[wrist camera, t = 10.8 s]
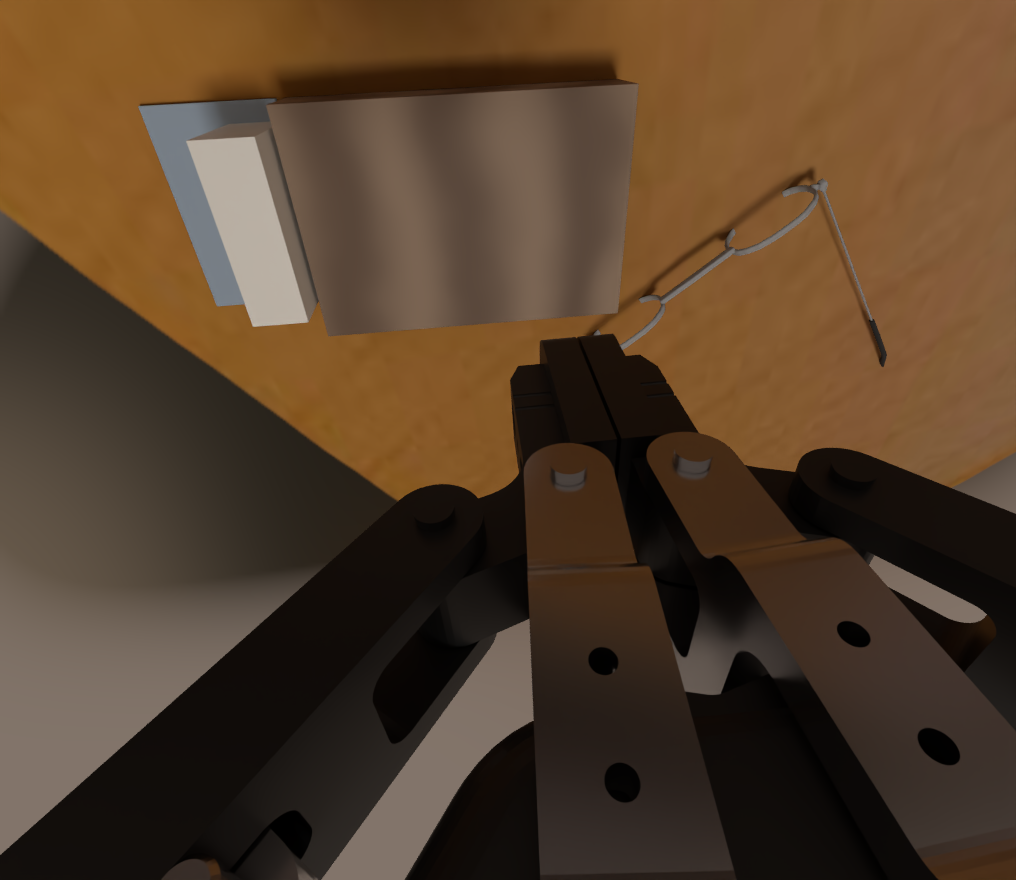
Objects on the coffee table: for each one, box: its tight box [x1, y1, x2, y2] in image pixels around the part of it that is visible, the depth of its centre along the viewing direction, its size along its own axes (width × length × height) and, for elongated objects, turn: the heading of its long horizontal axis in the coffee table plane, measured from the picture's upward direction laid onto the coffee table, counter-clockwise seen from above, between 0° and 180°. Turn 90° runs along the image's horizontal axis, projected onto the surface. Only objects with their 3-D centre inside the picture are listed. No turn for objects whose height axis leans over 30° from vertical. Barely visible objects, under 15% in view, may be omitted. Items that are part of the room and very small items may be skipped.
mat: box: [138, 98, 277, 306], centre depth 31 cm, size 7×11×1 cm, turn 3°
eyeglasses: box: [593, 179, 887, 367], centre depth 40 cm, size 18×19×4 cm
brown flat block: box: [266, 79, 639, 336], centre depth 31 cm, size 18×12×4 cm, turn 93°
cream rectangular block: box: [186, 122, 319, 327], centre depth 29 cm, size 6×9×3 cm
